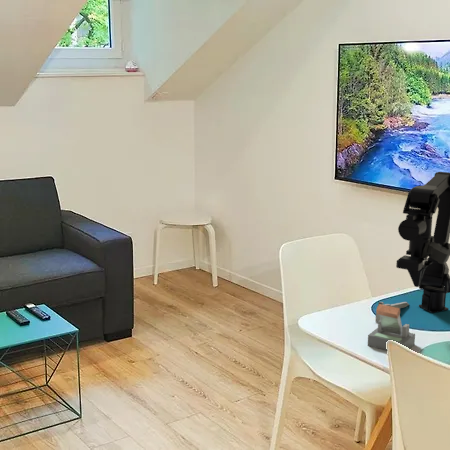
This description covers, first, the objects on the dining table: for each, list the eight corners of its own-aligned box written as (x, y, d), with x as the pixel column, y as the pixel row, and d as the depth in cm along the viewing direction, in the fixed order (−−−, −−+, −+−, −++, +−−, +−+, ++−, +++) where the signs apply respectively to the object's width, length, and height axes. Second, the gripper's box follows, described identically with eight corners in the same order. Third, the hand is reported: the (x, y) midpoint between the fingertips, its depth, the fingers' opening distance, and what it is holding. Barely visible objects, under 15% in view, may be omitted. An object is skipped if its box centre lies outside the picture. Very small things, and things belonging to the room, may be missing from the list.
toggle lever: (384, 325, 195) (379, 304, 189) (404, 329, 191) (399, 308, 186) (381, 331, 193) (376, 310, 188) (401, 336, 190) (396, 314, 185)
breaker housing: (379, 336, 199) (380, 315, 197) (414, 344, 193) (415, 323, 192) (367, 345, 192) (368, 324, 191) (403, 354, 187) (404, 332, 185)
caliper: (378, 324, 208) (379, 303, 206) (375, 323, 209) (376, 303, 207) (409, 305, 223) (410, 286, 222) (405, 304, 224) (407, 285, 223)
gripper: (438, 244, 187) (433, 301, 191) (460, 230, 202) (455, 283, 206) (397, 238, 193) (393, 293, 197) (421, 224, 208) (417, 276, 212)
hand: (416, 286), depth 203 cm, fingers closed
